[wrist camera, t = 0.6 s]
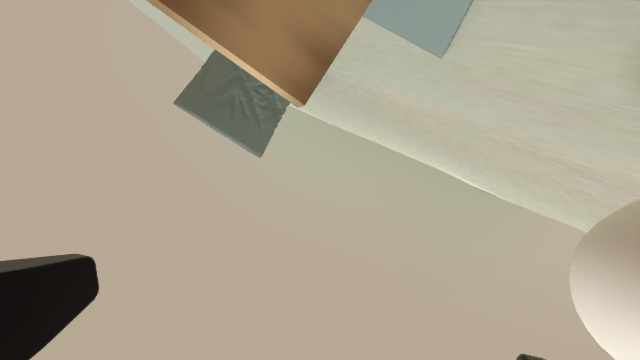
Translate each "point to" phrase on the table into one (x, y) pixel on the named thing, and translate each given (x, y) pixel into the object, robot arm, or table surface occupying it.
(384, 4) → the board
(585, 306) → the lightbulb
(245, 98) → the grey cup
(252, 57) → the gate
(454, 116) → the table surface
